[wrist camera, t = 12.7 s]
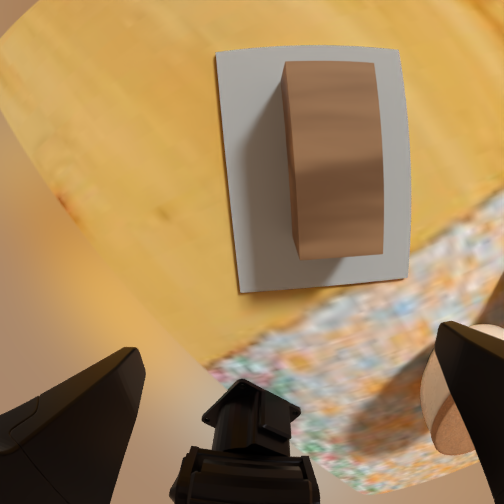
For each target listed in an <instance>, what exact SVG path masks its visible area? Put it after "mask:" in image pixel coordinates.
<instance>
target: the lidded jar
mask: <svg viewBox="0 0 504 504" xmlns="http://www.w3.org/2000/svg"><path fill="white" fill-rule="evenodd" d="M469 327H470V328H473V329H475V330H478V331H481V332H483V333H486V334H489V335H491V336H494V337H497V338H499V339H502V340H504V328H501V327H499V326H496V325H490V324H479V325H473V326H469ZM420 401H421V407H422V412H423V416H424V419H425V422H426V424H427V427H428V429H429V431H430V433H431V438H432V441H433V443H434V445H435V447H436V449H437V450H438V451H439V452H440V453H442V454H445V455H460V454H464V453H468V452H471V451H473V450H475V448H474V445H473V443H472V440H471V438H470V436H469V433H468V431H467V429H466V426H465V424H464V422H463V420H462V417H461V415H460V413H459V411H458V409H457V407H456V404H455V402H454V400H453V398H452V396H451V394H450V391H449V389H448V386H447V384H446V381H445V378H444V375H443V372H442V370H441V367H440V364H439V362H438V359H437V357H436V354H435V348H434V350H433V351H432V353H431V355H430V357H429V359H428V362H427V365H426V368H425V370H424V373H423V376H422V381H421V385H420Z"/></svg>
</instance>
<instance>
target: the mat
mask: <svg viewBox="0 0 504 504" xmlns="http://www.w3.org/2000/svg"><path fill="white" fill-rule="evenodd" d="M216 61H217V72H218V83H219V94H220V105H221V115H222V126H223V136H224V146H225V156H226V166H227V175H228V185H229V194H230V204H231V213H232V222H233V231H234V241H235V249H236V258H237V267H238V276H239V284H240V293H245V292H259V291H273V290H286V289H299V288H310V287H322V286H333V285H344V284H354V283H364V282H374V281H383V280H392V279H401V278H408V267H409V252H410V231H411V164H410V143H409V129H408V117H407V107H406V98H405V89H404V82H403V74H402V68H401V61H400V55H399V50H394V49H384V48H373V47H359V46H334V45H300V46H275V47H260V48H249V49H239V50H230V51H222V52H216ZM285 61H352V62H369V63H374V66H375V73H376V81H377V89H378V98H379V108H380V120H381V133H382V149H383V172H384V242H383V254H379V255H367V256H354V257H341V258H327V259H314V260H300V259H299V256H298V253H297V250H296V247H295V244H294V241H293V237H292V220H291V203H290V188H289V173H288V160H287V147H286V135H285V123H284V112H283V101H282V91H281V77H282V72H283V68H284V64H285Z"/></svg>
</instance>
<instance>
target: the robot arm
mask: <svg viewBox="0 0 504 504" xmlns="http://www.w3.org/2000/svg"><path fill="white" fill-rule="evenodd" d="M435 354H436V357H437V359H438V362H439V364H440V367H441V370H442V372H443V375H444V378H445V381H446V384H447V386H448V389H449V391H450V394H451V396H452V398H453V400H454V402H455V404H456V407H457V409H458V411H459V413H460V415H461V417H462V420H463V422H464V424H465V426H466V429H467V431H468V433H469V436H470V438H471V440H472V443H473V445H474V448H475V450H476V453H477V455H478V458H479V460H480V463H481V465H482V467H483V470H484V473H485V476H486V479H487V481H488V484H489V487H490V490H491V493H492V496H493V498H494V502H495V504H504V340H502V339H499V338H497V337H494V336H491V335H489V334H486V333H483V332H481V331H478V330H475V329H473V328H470V327H467V326H465V325H462V324H459V323H457V322H454V321H448V322H443V323H441V324H440V325H439V328H438V333H437V337H436V342H435ZM145 375H146V372H145V367H144V364H143V361H142V358H141V355H140V352H139V350H138V349H137V348H136V347H124V348H122V349H120V350H118V351H117V352H115V353H113V354H111V355H110V356H108V357H106V358H104V359H103V360H101V361H99V362H97V363H96V364H94V365H92V366H90V367H89V368H87V369H85V370H83V371H82V372H80V373H78V374H76V375H74V376H73V377H71V378H69V379H68V380H66V381H64V382H62V383H60V384H58V385H57V386H55V387H53V388H51V389H50V390H48V391H46V392H44V393H42V394H41V395H40V396H37V397H35V398H33V399H31V400H30V401H28V402H26V403H24V404H22V405H20V406H18V407H16V408H14V409H12V410H10V411H8V412H6V413H4V414H1V415H0V504H110V501H111V498H112V494H113V491H114V487H115V484H116V481H117V478H118V474H119V471H120V468H121V464H122V461H123V458H124V455H125V452H126V449H127V446H128V442H129V439H130V436H131V433H132V430H133V427H134V424H135V421H136V417H137V413H138V408H139V404H140V400H141V394H142V390H143V386H144V381H145ZM241 384H243V385H244V386H242V385H241ZM295 411H296V412H295ZM300 414H301V409H300V408H299V407H297V406H295V405H293V404H291V403H289V402H288V401H286V400H284V399H282V398H280V397H278V396H276V395H274V394H272V393H271V392H269V391H267V390H264V389H262V388H260V387H258V386H257V385H255V384H253V383H251V382H249V381H247V380H245V379H239V380H238V381H237V382H236V383H235V384H234V385H233V386H232V387H231V388H230V389H229V390H228V391H227V392H226V393H225V394H224V395H223V396H222V397H221V398H220V399H219V400H218V401H217V402H216V403H215V404H214V405H213V406H212V407H211V408H210V409H209V410H207V412H206V413H204V414H203V416H202V421H203V422H204V423H206V424H208V425H210V426H212V427H214V428H215V433H214V439H213V445H212V450H208V449H201V448H199V447H196V446H191V449H190V452H189V453H187V454H186V457H184V458H183V460H182V465H181V468H180V472H179V475H178V477H177V478H176V480H175V482H174V484H173V485H172V487H171V489H170V492H169V497H170V498H171V499H172V501H173V502H174V503H175V504H320V493H319V488H318V484H317V481H316V478H315V475H314V471H313V468H312V465H311V462H310V458H309V456H301V457H290V445H289V439H291V425H290V423H291V422H292V421H293V420H295V419H296V418H297V417H298V416H299V415H300ZM206 418H207V419H206Z"/></svg>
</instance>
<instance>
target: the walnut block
mask: <svg viewBox="0 0 504 504" xmlns="http://www.w3.org/2000/svg"><path fill="white" fill-rule="evenodd" d="M281 91H282V101H283V112H284V123H285V135H286V147H287V160H288V173H289V188H290V203H291V220H292V237H293V241H294V244H295V247H296V250H297V253H298V256H299V259H300V260H314V259H327V258H341V257H354V256H367V255H379V254H383V242H384V172H383V149H382V133H381V120H380V108H379V98H378V89H377V81H376V73H375V66H374V63H369V62H352V61H285V64H284V68H283V72H282V77H281Z"/></svg>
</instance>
